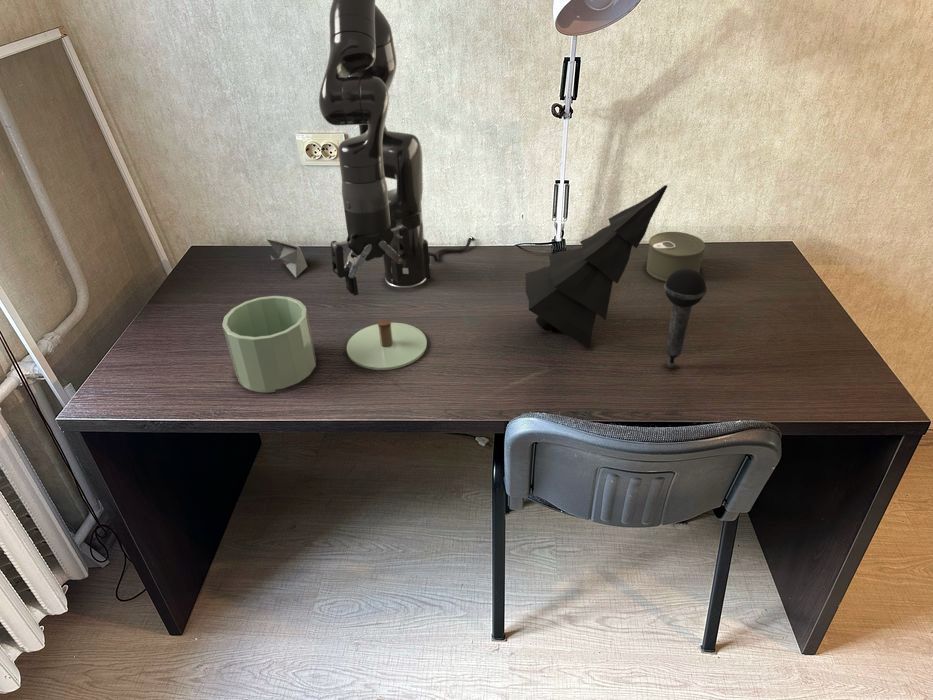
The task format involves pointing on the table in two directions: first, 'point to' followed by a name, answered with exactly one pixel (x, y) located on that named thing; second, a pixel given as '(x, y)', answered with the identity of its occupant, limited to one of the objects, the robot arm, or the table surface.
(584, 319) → the decorative tree
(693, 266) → the can
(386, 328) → the lid
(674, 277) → the microphone
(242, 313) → the crock
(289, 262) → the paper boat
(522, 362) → the table surface
